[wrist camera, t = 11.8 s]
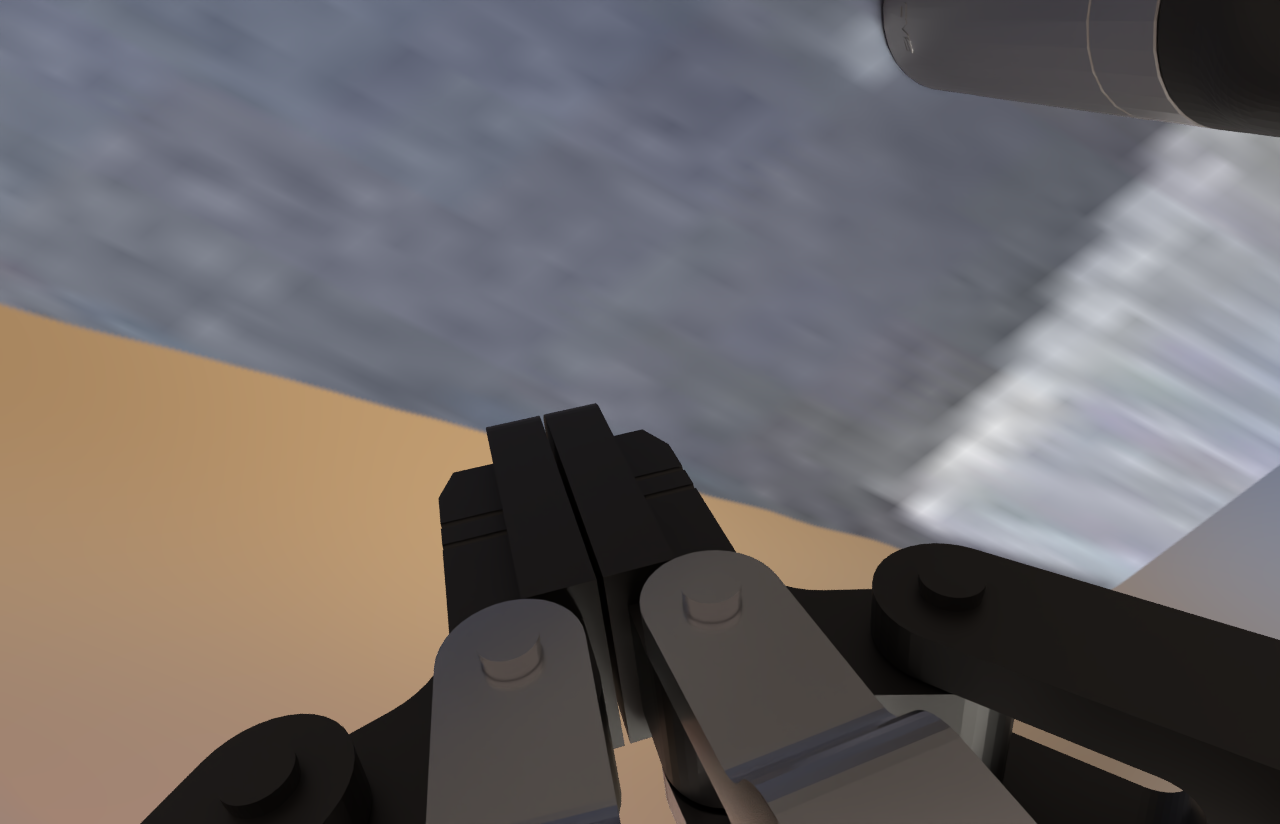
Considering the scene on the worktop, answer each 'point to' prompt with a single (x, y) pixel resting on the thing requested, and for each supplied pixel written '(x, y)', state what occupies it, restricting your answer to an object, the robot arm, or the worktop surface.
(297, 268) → the worktop surface
